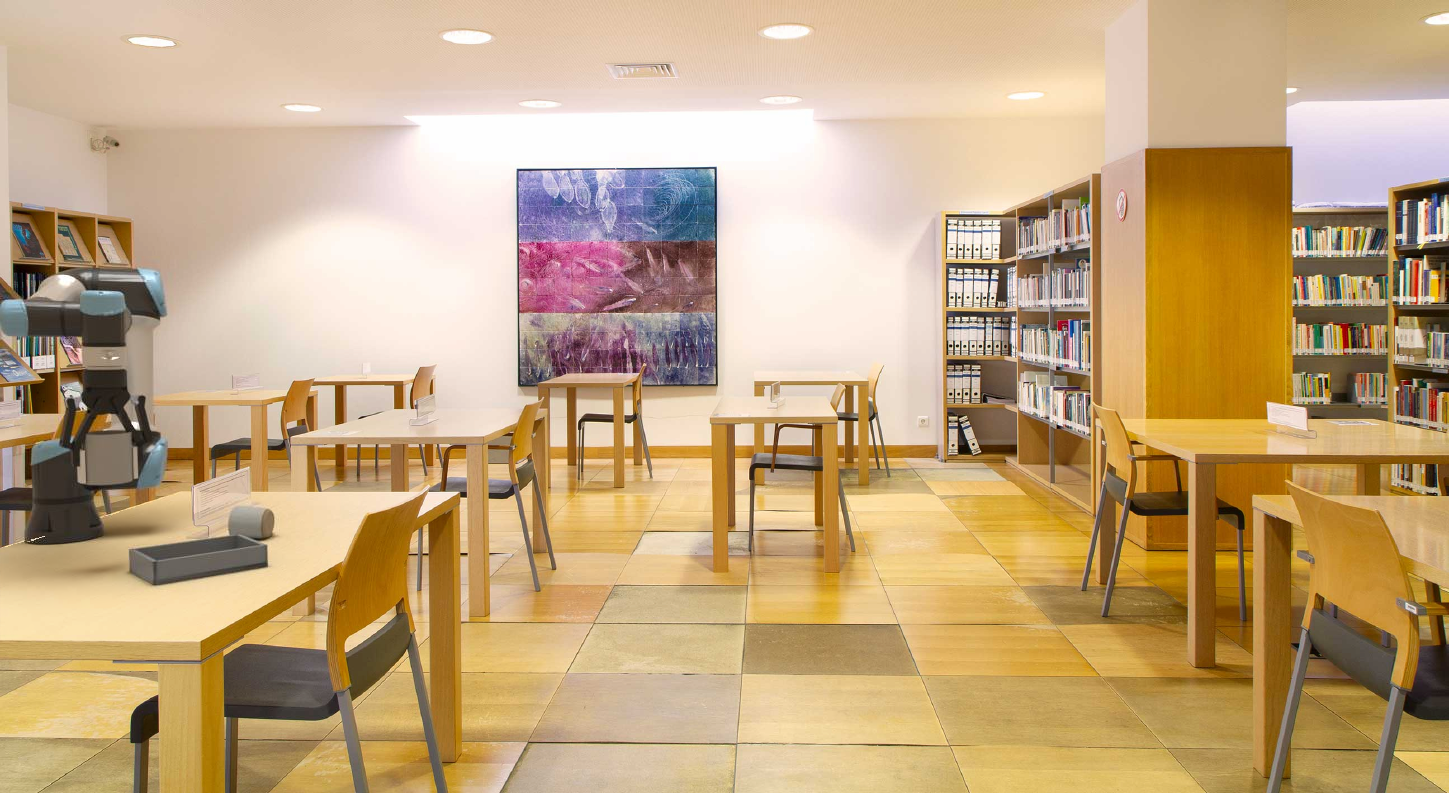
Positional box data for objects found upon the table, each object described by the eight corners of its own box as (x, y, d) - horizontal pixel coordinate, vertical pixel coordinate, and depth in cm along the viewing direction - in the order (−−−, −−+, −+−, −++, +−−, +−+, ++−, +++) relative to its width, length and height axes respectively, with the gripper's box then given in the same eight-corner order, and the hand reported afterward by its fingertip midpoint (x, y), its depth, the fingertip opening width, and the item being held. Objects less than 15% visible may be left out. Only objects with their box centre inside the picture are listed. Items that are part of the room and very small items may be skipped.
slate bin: (129, 571, 190) (129, 549, 190) (239, 554, 206) (239, 533, 205) (154, 585, 180) (153, 562, 180) (267, 566, 195) (267, 544, 195)
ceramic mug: (264, 541, 218) (264, 508, 218) (227, 541, 218) (227, 508, 217) (281, 532, 229) (281, 501, 229) (246, 532, 228) (245, 501, 228)
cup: (80, 486, 186) (78, 435, 185) (85, 479, 193) (84, 430, 192) (130, 483, 190) (129, 434, 189) (134, 477, 197) (133, 429, 196)
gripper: (45, 370, 179) (50, 488, 181) (169, 367, 195) (172, 476, 196) (36, 368, 184) (40, 483, 186) (157, 366, 200) (160, 472, 201)
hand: (108, 479), depth 191 cm, fingers closed on cup, 8 cm apart
